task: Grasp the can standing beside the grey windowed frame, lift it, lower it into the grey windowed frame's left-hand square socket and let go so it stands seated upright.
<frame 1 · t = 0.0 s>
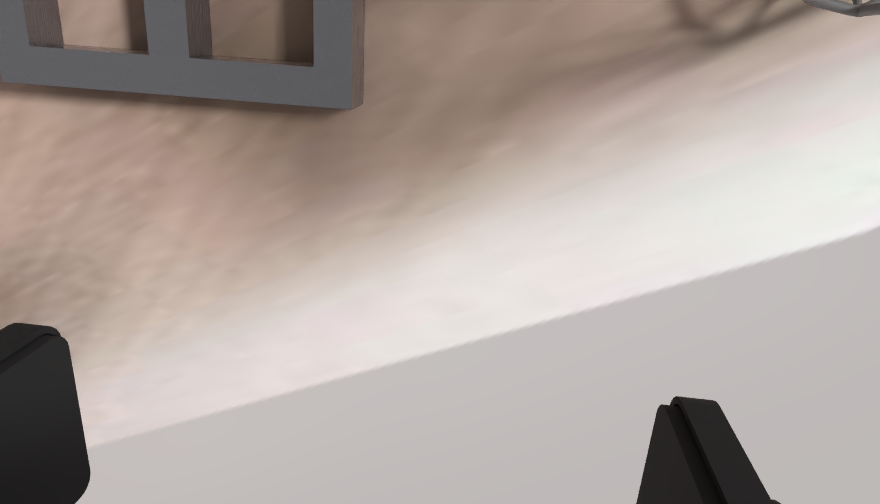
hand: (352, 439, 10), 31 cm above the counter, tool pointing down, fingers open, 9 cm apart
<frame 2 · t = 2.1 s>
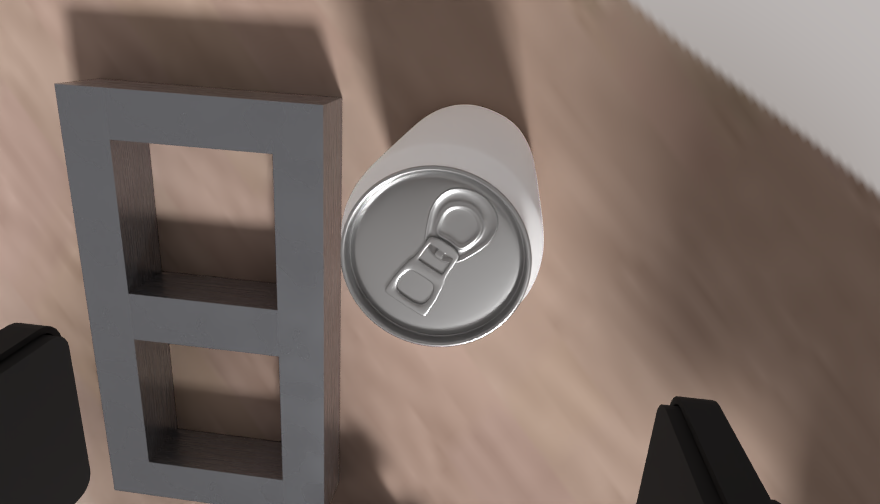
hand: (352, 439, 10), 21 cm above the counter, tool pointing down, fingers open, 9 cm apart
grey windowed frame: (230, 300, 33), on the counter
can: (466, 171, 29), on the counter
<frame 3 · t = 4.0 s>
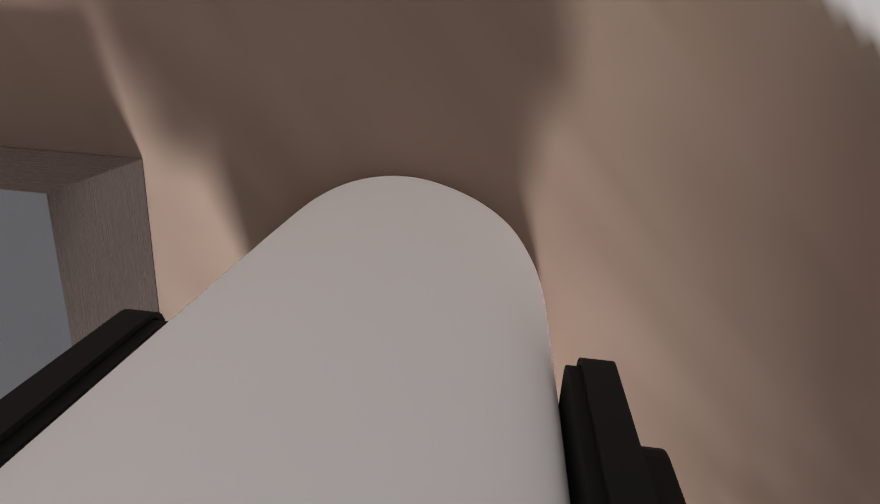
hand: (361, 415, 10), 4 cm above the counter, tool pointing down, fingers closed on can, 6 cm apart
can: (405, 303, 14), on the counter, touching gripper
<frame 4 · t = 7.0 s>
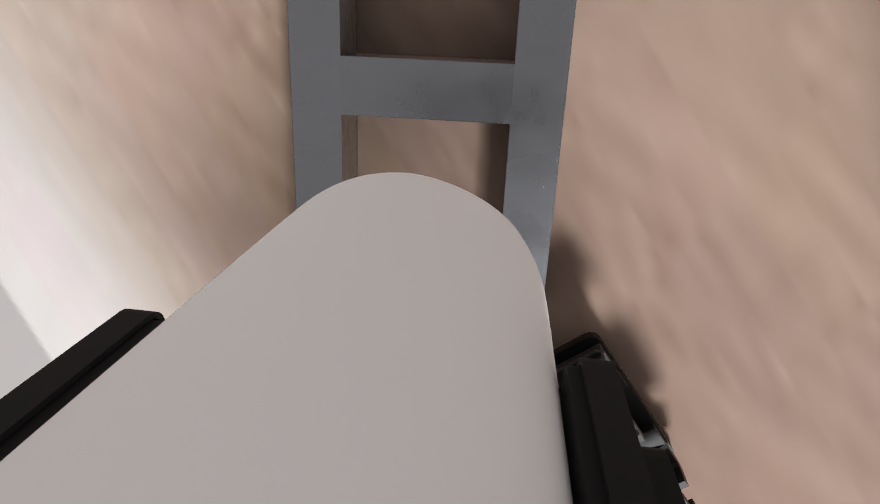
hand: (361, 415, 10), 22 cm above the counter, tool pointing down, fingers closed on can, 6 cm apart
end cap: (578, 415, 35), on the counter
grey windowed frame: (433, 83, 29), on the counter
can: (405, 300, 14), point 17 cm above the counter, touching gripper
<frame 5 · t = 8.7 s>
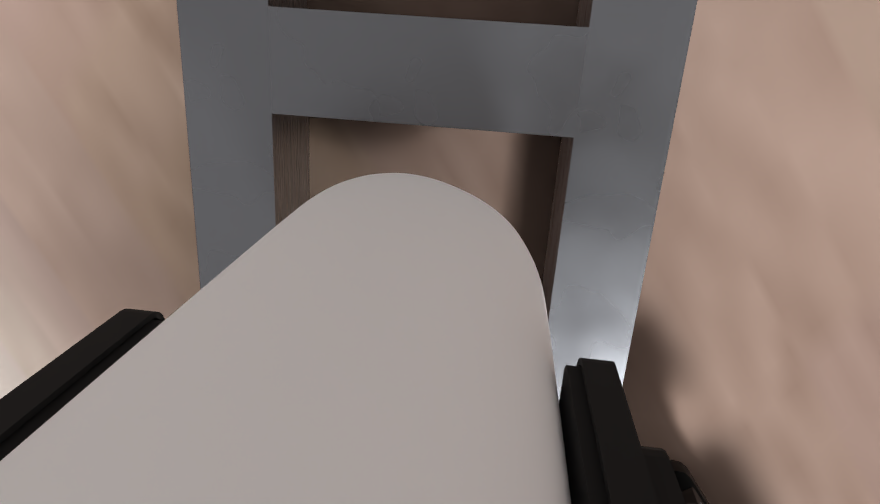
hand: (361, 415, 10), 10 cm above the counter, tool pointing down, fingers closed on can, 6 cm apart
grey windowed frame: (436, 64, 17), on the counter
can: (405, 301, 14), point 5 cm above the counter, touching gripper
when the fingers open (5 cm above the counter, at t = 10.1 s): can drops 1 cm, resting in grey windowed frame.
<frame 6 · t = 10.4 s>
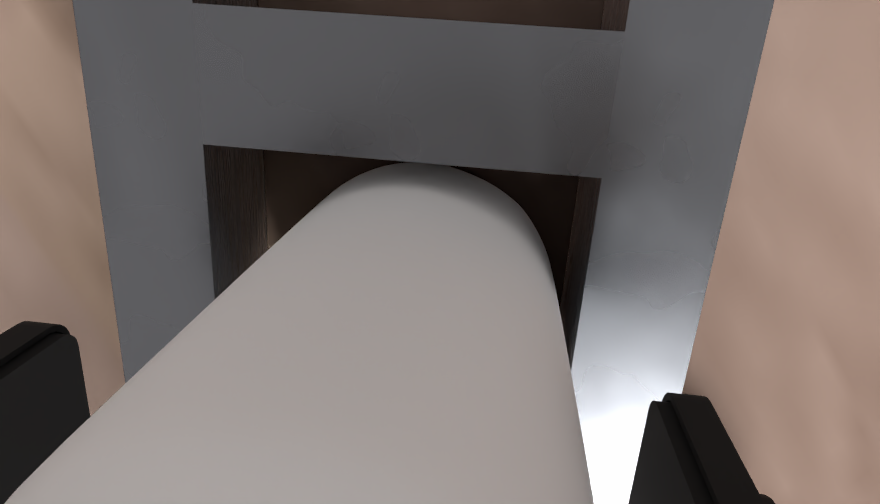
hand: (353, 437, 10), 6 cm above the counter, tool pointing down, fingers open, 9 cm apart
grey windowed frame: (422, 78, 14), on the counter
can: (424, 280, 16), resting in grey windowed frame
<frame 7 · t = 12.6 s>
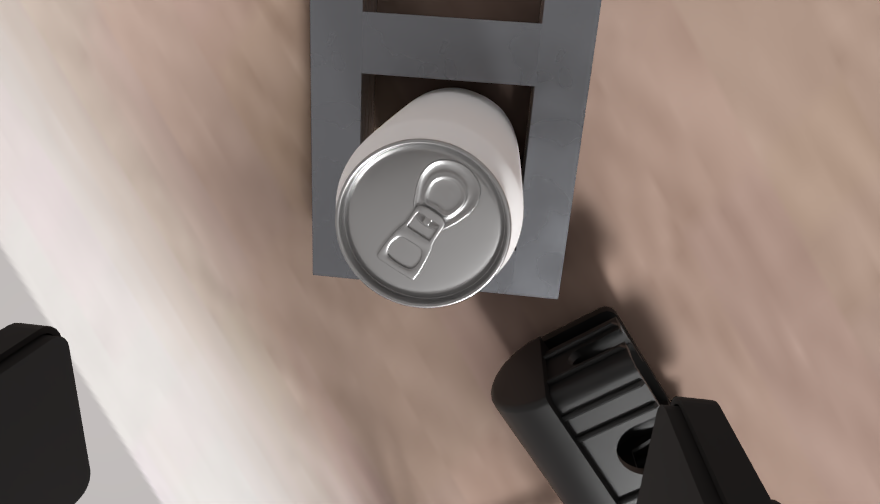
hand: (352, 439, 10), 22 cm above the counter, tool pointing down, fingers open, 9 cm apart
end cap: (590, 391, 35), on the counter
grey windowed frame: (454, 46, 29), on the counter
can: (453, 152, 31), resting in grey windowed frame
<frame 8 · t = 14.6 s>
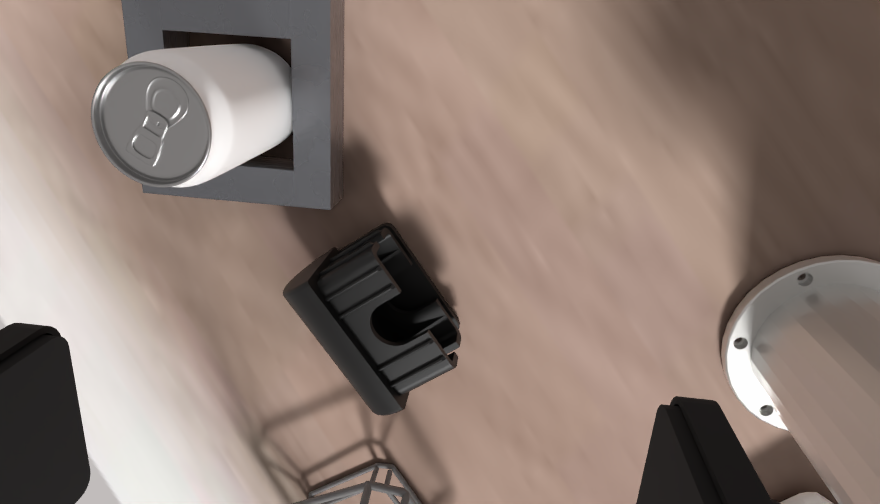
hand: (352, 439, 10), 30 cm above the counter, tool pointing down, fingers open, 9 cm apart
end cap: (385, 296, 43), on the counter
grey windowed frame: (246, 11, 37), on the counter
can: (255, 96, 39), resting in grey windowed frame
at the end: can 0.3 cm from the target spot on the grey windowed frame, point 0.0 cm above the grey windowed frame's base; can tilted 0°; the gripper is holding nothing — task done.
